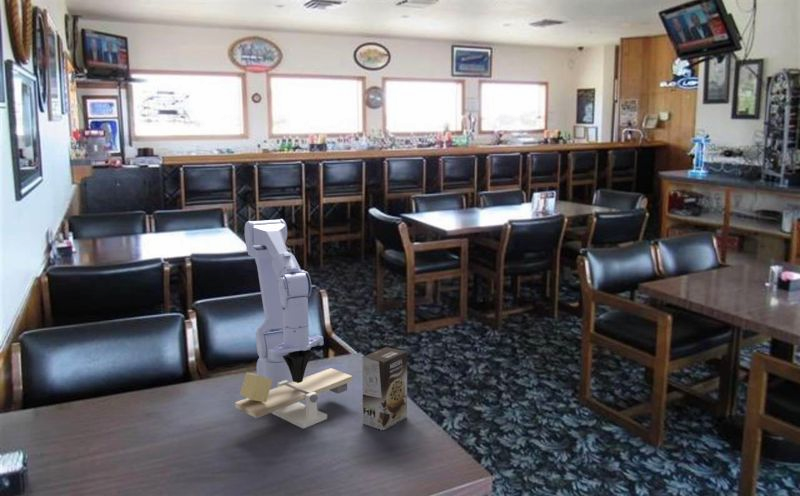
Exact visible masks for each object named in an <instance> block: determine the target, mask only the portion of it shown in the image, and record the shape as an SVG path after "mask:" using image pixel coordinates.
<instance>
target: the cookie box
mask: <svg viewBox="0 0 800 496" xmlns="http://www.w3.org/2000/svg"><path fill="white" fill-rule="evenodd" d="M406 418H408V351H407V350H406V351H405V350H402V349H397V348H391V347H388V346H386V347H383V348H381V349H379V350H376V351H373V352H371V353H368V354H366V355H363V356H362V424H364V425H366V426H369V427H371V428H374V429H376V430H379V429H380V431H382V430H383V431H385V430H387V429H389V428H391V427H392V426H394V425H396V424H398V423H400V422H401V421H404V420H405V419H406ZM397 422H398V423H397ZM390 426H391V427H390Z"/></svg>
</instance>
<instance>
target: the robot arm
mask: <svg viewBox="0 0 800 496" xmlns="http://www.w3.org/2000/svg"><path fill="white" fill-rule="evenodd" d="M287 238H288V226H287V223H286V221H285V219H283V218H279V219H268V220H267V219H266V220H265V219H264V220H248V221H246V222H245V224H244V239H245V240H244V241H245V247H246V252H247V254H248V256H250V257H252V258H254V260H255V264H256V267H257V273H258V274H257V275H258V280H259V288H260V289H259V290H260V294H261V300H262V308H263V314H264V321H263V322H262V323H261V324H260V325H259V326H258V327H257V329H256V332H255V336H256V338H255V339H256V340H255V343H256V345H255V346H256V351H257V356H258V357H259V358H258V359H257V362H256V374H258V375H262V376H265V377H267V378H269V379H272V380H273V381H272V384H271V388H270V390H271V389H274V388H277V383H278V381H279V380H282V381H284V380H287V381H289V383H291V382H293V381H294V382H296V383H300V382H302V381H303V378H305V377H304V376H305V372H306V368H307V365H308V363H309V361H310V360H311V357H312V356H313V355H312V354H313V352H312V351H311V348H312V347H317V346H323V345H324V336H322V335H314V336H310V335H309V334H310V333H309V329H310V328H309V301H308V300H309V297H310V296H311V294H312V280H311V276H310V275H309V272H308V271H305V270H304V269H301V266H300V264H299V263H298V261H297V259H296V257H295V255H294V254H293V253H291V252H288V249H287V246H286V242H287Z"/></svg>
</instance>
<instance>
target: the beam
mask: <svg viewBox="0 0 800 496" xmlns="http://www.w3.org/2000/svg"><path fill="white" fill-rule="evenodd" d="M353 377H354V376H353V375H351V374H348V373H345V372H343V371H340V370H338V369H335V368H331V367H330V368H326V369H323V370H322V371H319V372H317V373H316V372H315V373H313V374H311V375H308V376H305V377H303V381H302V382H300V383H296V382H294V381H293V382H291V383H285V384H284V385H282V386H279V387H277V388H274V389H271V390H270V391H269V394H268V398H267V401H266V402H261V401H255V400H250V399H248V398H246V397H245V398H244V399H241V400H238V401H237V400H236V401H235V402H234V407H235V409H236V410H240V411H242V412H243V413H245V414H247V415H249V416H251V417H253V418H255V419H258V418H260V417H264V416H265V415H268V414H272V413H271V412H274V411H276V410H279V409H281V408H284V407H287V406H289V405H292V404H294V403H297V402H302V401H305V395H306V394H309V393H311V392H315V393H317V396H318V395H320V394H323V393H324V392H327V391H330V392H332V393H335V394H337V395H338V394H341V393H344V392H347V391H348V383H351V382H353V381H354V379H353Z"/></svg>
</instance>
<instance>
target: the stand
mask: <svg viewBox="0 0 800 496" xmlns="http://www.w3.org/2000/svg"><path fill="white" fill-rule="evenodd" d="M285 383H289V381H287V380H284V381H282V380H279V381H278V383H277V387H279V386H282V385H284V384H285ZM304 402H305V404H304V403H302V402H301V401H299V402H297V403H294V404H292V405H289V406H287V407H284V408H281V409H279V410H276V411H274V412H271V413H270V414H273V415H274V416H276V417H279V418H280V419H282V420H285V421H286V422H288V423H291V424H292V425H295V426H296V427H298V428H301V429H306V428H309V427H311V426H313V425H316V424H317V423H320V422H323V421H325V420H327V419H328V414H326V413H324V412H322V411H321V410H318V395H317V393H315V392H311V393H309V394H306V395H305V400H304Z"/></svg>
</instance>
